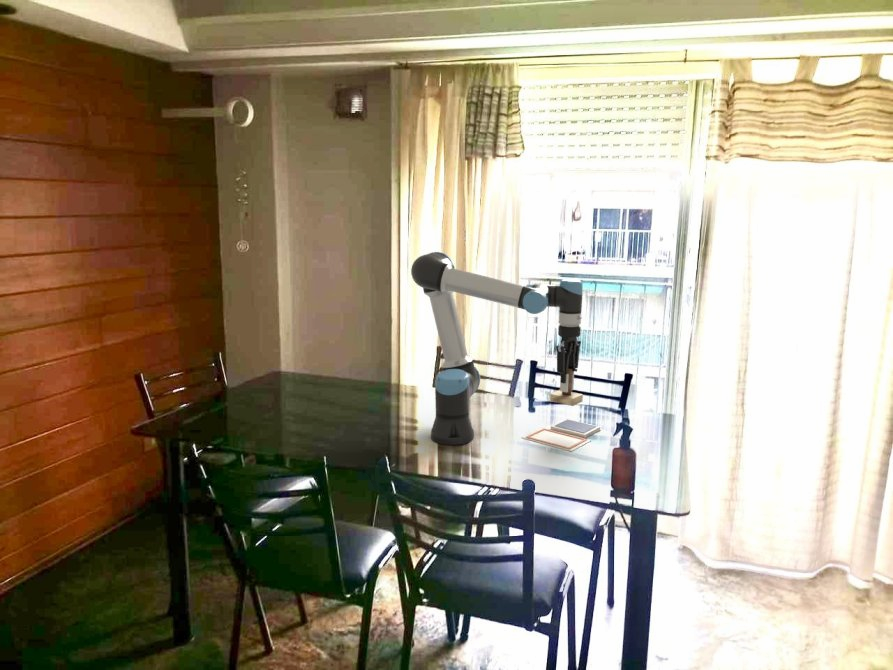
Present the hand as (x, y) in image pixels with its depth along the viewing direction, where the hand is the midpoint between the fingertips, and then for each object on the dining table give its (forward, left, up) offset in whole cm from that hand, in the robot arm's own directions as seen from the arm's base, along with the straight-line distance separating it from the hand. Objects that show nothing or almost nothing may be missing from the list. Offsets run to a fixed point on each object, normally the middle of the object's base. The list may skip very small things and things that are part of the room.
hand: (566, 390), depth 232 cm
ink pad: (0, +6, -16) cm, 17 cm away
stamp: (0, 0, -4) cm, 4 cm away
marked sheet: (0, -7, -16) cm, 17 cm away
